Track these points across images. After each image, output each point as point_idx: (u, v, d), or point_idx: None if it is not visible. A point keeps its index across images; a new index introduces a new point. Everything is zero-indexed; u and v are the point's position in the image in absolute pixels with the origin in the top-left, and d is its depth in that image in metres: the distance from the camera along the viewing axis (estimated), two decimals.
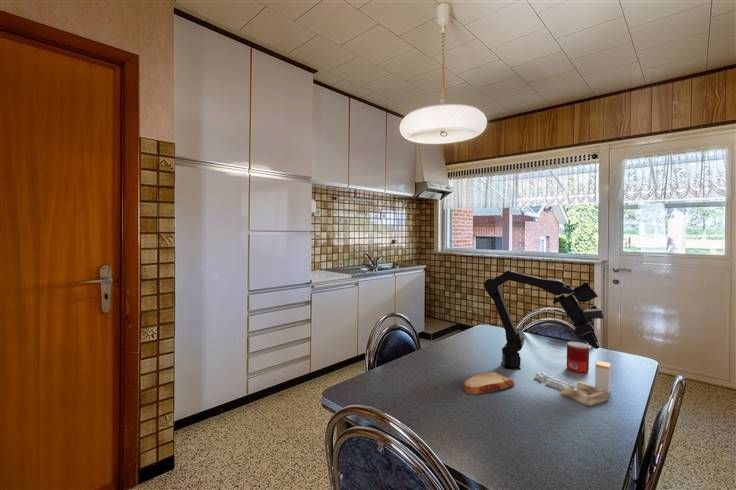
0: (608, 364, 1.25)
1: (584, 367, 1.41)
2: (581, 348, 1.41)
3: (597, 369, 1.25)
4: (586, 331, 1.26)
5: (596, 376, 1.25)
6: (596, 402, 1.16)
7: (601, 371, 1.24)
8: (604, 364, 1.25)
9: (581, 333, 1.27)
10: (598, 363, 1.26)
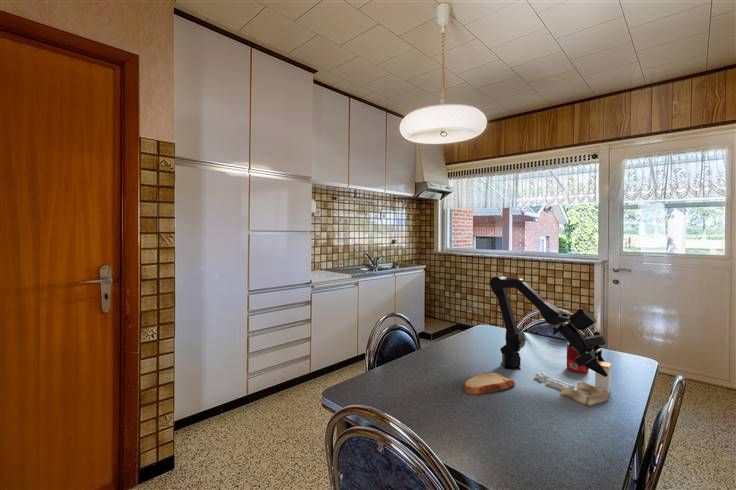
0: (608, 364, 1.25)
1: (584, 367, 1.41)
2: None
3: None
4: (586, 360, 1.21)
5: (596, 376, 1.25)
6: (596, 402, 1.16)
7: None
8: (604, 364, 1.25)
9: (582, 363, 1.22)
10: None
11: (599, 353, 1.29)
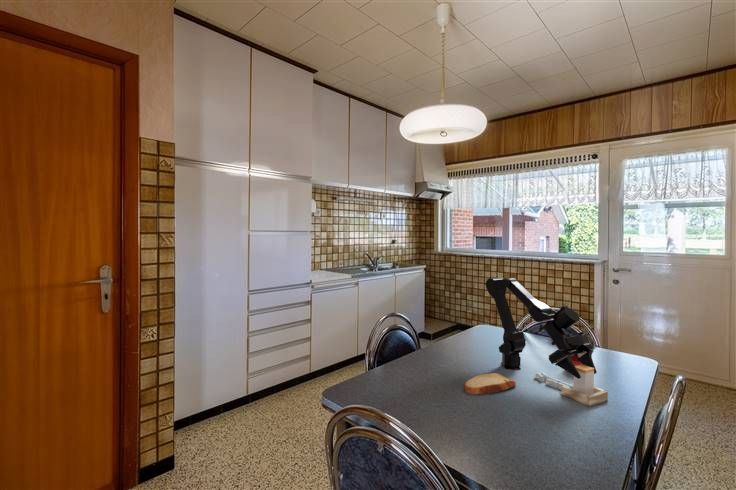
0: (588, 368, 1.20)
1: None
2: None
3: None
4: (557, 358, 1.20)
5: (574, 379, 1.21)
6: (596, 402, 1.16)
7: None
8: (584, 367, 1.20)
9: (553, 360, 1.21)
10: (578, 366, 1.21)
11: (587, 353, 1.25)
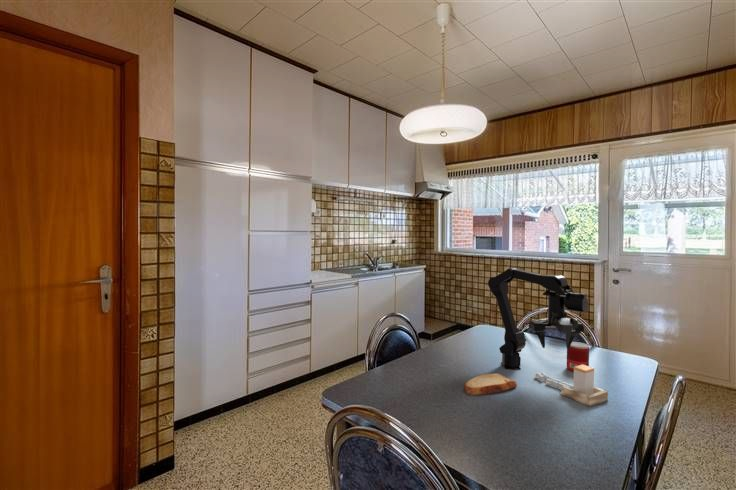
0: (588, 368, 1.20)
1: None
2: (581, 348, 1.41)
3: (575, 372, 1.21)
4: (532, 328, 1.33)
5: (574, 379, 1.21)
6: (596, 402, 1.16)
7: (579, 374, 1.20)
8: (584, 367, 1.20)
9: (530, 326, 1.35)
10: (578, 366, 1.21)
11: (572, 333, 1.31)
